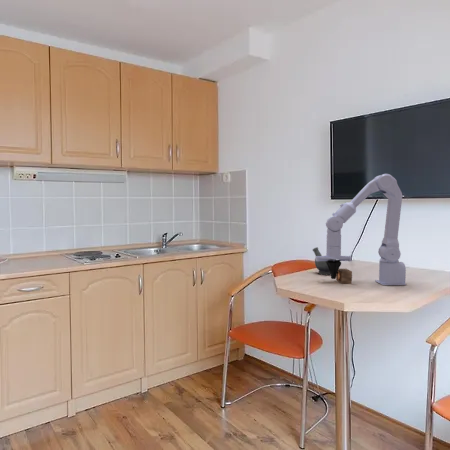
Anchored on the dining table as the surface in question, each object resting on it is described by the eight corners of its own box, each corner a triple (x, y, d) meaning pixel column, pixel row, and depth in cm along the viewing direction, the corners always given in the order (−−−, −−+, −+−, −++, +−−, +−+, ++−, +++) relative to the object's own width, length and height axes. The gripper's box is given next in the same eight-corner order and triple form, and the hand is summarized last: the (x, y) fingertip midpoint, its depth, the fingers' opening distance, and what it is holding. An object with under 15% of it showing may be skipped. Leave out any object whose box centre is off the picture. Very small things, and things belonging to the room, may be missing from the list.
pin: (349, 279, 164) (349, 270, 163) (352, 281, 160) (353, 271, 160) (335, 279, 164) (335, 270, 163) (338, 281, 160) (338, 272, 160)
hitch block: (346, 280, 165) (346, 268, 165) (351, 283, 158) (352, 271, 158) (336, 280, 165) (336, 268, 165) (342, 283, 158) (342, 271, 158)
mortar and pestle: (339, 273, 182) (339, 247, 181) (332, 276, 174) (332, 249, 173) (316, 270, 188) (316, 246, 188) (308, 273, 181) (308, 248, 180)
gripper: (348, 244, 165) (347, 276, 166) (313, 244, 165) (313, 276, 165) (353, 246, 158) (353, 279, 159) (318, 246, 158) (317, 280, 158)
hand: (333, 278), depth 162 cm, fingers closed
